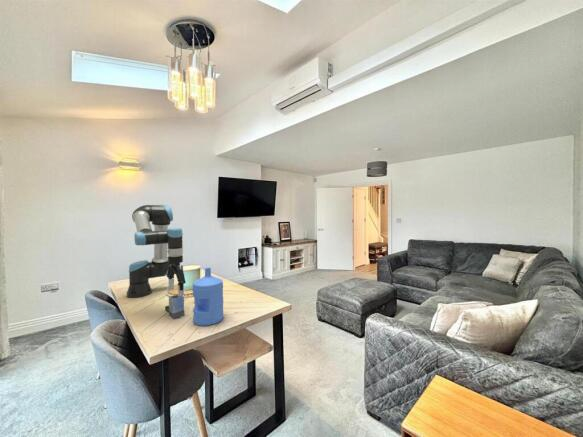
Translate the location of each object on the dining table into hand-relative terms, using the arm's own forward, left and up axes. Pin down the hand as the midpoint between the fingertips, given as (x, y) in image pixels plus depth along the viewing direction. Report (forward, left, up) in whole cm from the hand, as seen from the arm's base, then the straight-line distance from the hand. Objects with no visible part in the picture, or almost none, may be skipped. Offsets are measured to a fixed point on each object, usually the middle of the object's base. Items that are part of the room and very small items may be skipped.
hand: (176, 292), depth 137 cm
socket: (0, 0, -10) cm, 10 cm away
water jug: (+18, +10, -13) cm, 25 cm away
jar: (-11, +20, -13) cm, 26 cm away
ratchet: (-5, 0, -13) cm, 14 cm away
